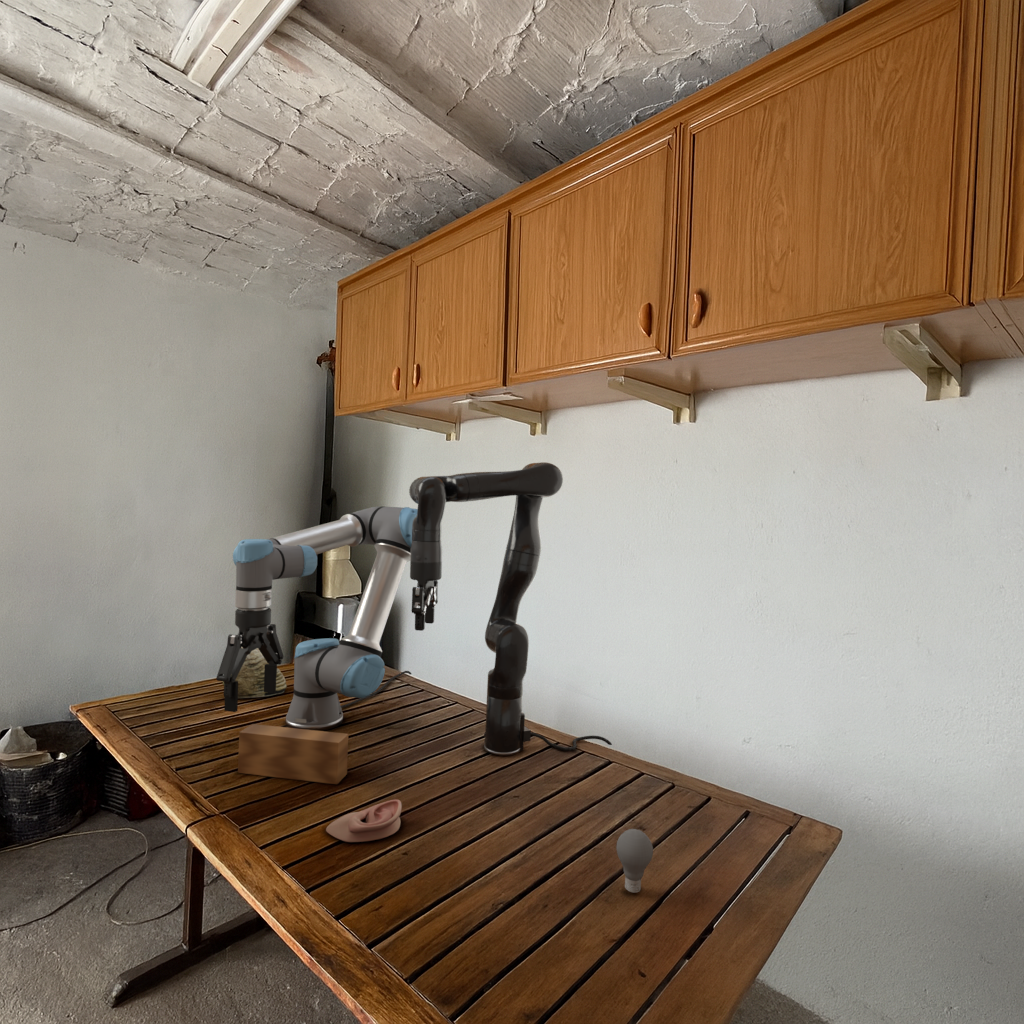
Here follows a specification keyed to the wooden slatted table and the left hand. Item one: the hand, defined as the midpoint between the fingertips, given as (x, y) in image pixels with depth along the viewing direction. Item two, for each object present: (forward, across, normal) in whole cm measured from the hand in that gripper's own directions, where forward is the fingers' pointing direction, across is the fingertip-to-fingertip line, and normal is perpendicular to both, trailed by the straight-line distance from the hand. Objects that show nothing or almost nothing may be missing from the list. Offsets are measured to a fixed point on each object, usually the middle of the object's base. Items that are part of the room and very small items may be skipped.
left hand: (251, 701), depth 143 cm
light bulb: (+16, -17, -87) cm, 90 cm away
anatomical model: (+16, -14, -36) cm, 42 cm away
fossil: (+17, +47, +34) cm, 61 cm away
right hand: (-16, +19, -34) cm, 42 cm away
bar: (+16, +3, -9) cm, 19 cm away
